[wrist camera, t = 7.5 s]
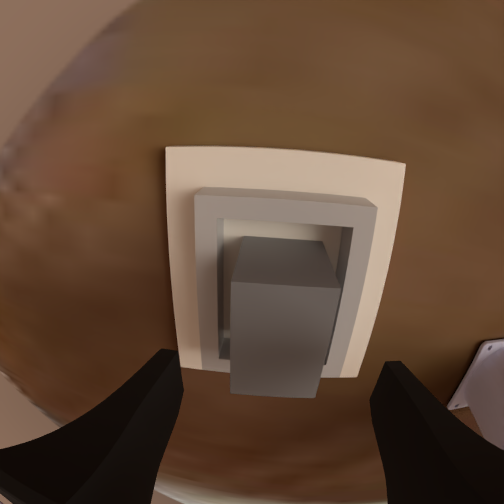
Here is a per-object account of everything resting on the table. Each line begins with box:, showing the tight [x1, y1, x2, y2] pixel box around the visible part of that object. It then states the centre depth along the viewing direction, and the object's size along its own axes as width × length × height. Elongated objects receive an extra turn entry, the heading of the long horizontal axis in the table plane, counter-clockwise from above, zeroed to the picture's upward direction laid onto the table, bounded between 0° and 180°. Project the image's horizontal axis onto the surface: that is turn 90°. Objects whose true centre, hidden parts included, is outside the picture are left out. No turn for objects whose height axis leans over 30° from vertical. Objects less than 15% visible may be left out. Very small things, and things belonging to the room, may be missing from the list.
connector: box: [230, 236, 341, 398], centre depth 14 cm, size 4×6×5 cm, turn 177°
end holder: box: [166, 146, 406, 377], centre depth 16 cm, size 12×14×3 cm
